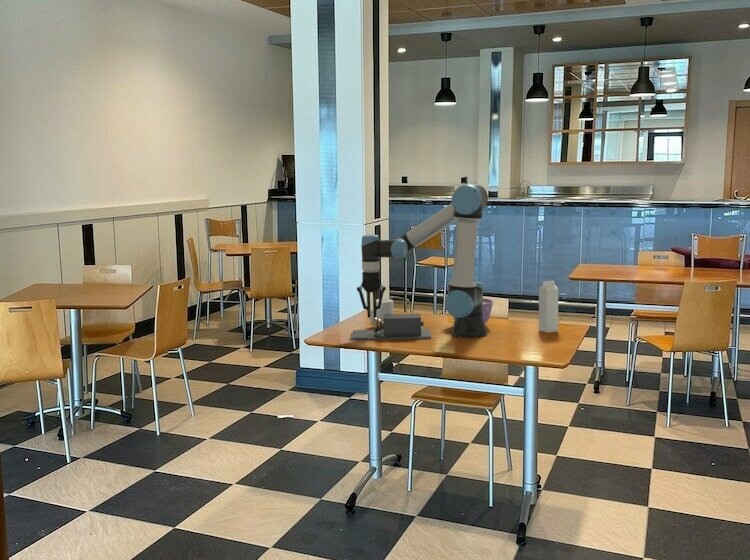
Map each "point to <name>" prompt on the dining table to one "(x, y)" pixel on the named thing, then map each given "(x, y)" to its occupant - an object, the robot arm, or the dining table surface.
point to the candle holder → (384, 308)
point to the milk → (548, 307)
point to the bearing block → (395, 329)
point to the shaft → (380, 324)
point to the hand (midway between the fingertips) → (372, 324)
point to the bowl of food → (485, 309)
